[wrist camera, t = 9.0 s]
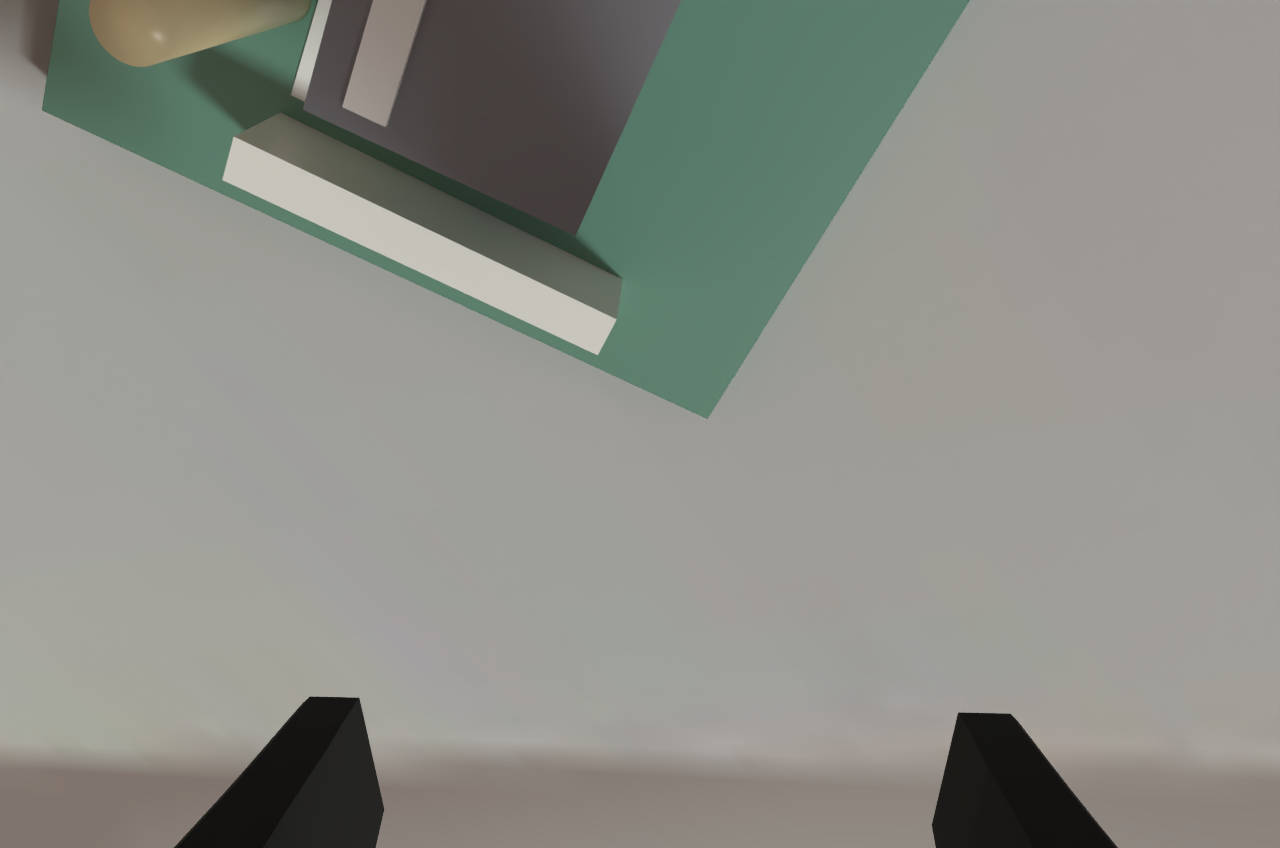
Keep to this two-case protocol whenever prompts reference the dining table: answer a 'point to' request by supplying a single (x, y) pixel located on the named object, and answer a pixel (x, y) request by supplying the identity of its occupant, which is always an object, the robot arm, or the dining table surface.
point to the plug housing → (493, 89)
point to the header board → (502, 235)
